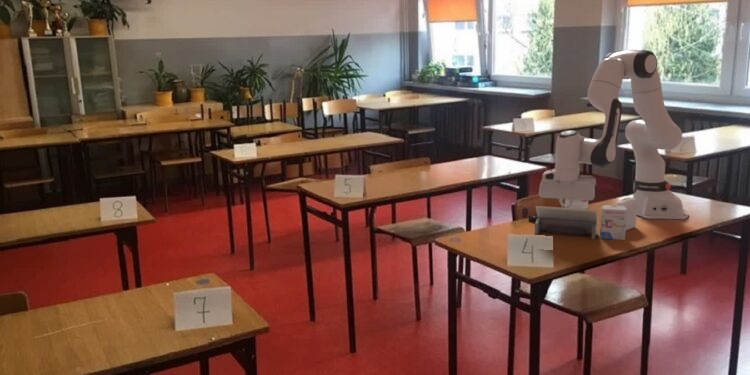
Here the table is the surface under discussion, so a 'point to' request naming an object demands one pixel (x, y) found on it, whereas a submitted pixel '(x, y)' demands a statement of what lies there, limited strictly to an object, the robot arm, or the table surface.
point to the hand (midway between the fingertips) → (565, 209)
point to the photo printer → (629, 211)
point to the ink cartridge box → (578, 204)
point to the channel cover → (566, 213)
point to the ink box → (613, 222)
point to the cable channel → (566, 225)
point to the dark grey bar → (566, 230)
